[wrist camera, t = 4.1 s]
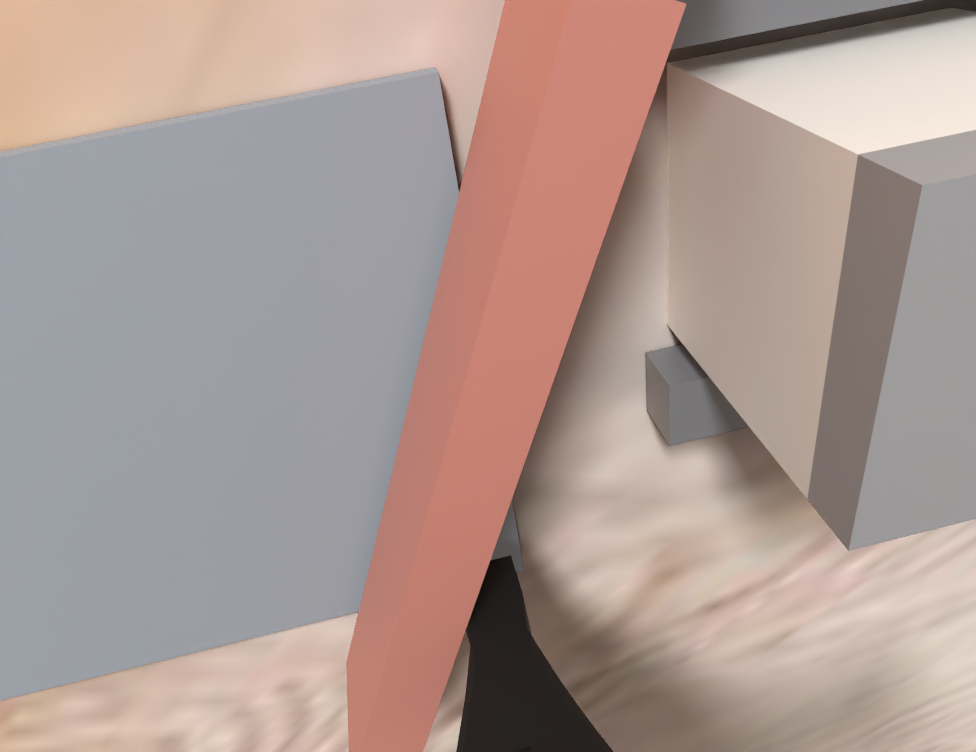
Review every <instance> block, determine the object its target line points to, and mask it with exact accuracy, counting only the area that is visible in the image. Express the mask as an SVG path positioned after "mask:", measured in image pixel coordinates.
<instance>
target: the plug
mask: <svg viewBox="0 0 976 752" xmlns="http://www.w3.org/2000/svg"><path fill="white" fill-rule="evenodd" d="M667 325H668V326H669V327H670V329H671V330H672V331H673V332H674V334H675V335H676V336H677V337H678V339H679V340H680V341H681V342H682V344H683V345H684V346H685V347H686V349H687V350H688V351H689V352H690V354H691V355H692V356H693V357H694V359H695V360H696V361H697V362H698V364H699V365H700V366H701V367H702V369H703V370H704V371H705V372H706V374H707V375H708V376H709V377H710V379H711V380H712V381H713V382H714V384H715V385H716V386H717V387H718V389H719V390H720V391H721V392H722V394H723V395H724V396H725V397H726V399H727V400H728V401H729V402H730V404H731V405H732V406H733V407H734V409H735V410H736V411H737V412H738V414H739V415H740V416H741V417H742V419H743V420H744V421H745V422H746V423H747V425H748V426H749V427H750V428H751V430H752V431H753V432H754V433H755V435H756V436H757V437H758V438H759V440H760V441H761V442H762V443H763V445H764V446H765V447H766V448H767V450H768V451H769V452H770V453H771V455H772V456H773V457H774V458H775V460H776V461H777V462H778V463H779V465H780V466H781V467H782V468H783V470H784V471H785V472H786V473H787V475H788V476H789V477H790V478H791V480H792V481H793V482H794V483H795V485H796V486H797V487H798V488H799V490H800V491H801V492H802V493H803V495H804V496H805V497H806V498H807V500H808V501H809V502H810V503H811V505H812V506H813V507H814V508H815V510H816V511H817V512H818V513H819V514H820V516H821V517H822V518H823V519H824V521H825V522H826V523H827V524H828V526H829V527H830V528H831V529H832V531H833V532H834V533H835V534H836V536H837V537H838V538H839V539H840V541H841V542H842V543H843V544H844V546H845V547H846V548H847V549H848V551H849V550H853V549H857V548H861V547H865V546H869V545H873V544H877V543H881V542H885V541H889V540H893V539H897V538H901V537H905V536H909V535H913V534H917V533H921V532H925V531H929V530H933V529H937V528H941V527H945V526H949V525H953V524H957V523H961V522H965V521H969V520H973V519H976V12H974V11H968V10H963V9H957V8H946V9H941V10H936V11H931V12H926V13H921V14H915V15H910V16H905V17H900V18H895V19H890V20H885V21H880V22H875V23H869V24H864V25H859V26H854V27H849V28H844V29H839V30H834V31H829V32H824V33H818V34H813V35H808V36H803V37H798V38H793V39H788V40H783V41H778V42H772V43H767V44H762V45H757V46H752V47H747V48H742V49H737V50H732V51H727V52H721V53H716V54H711V55H706V56H701V57H696V58H691V59H686V60H681V61H675V62H670V63H667Z"/></svg>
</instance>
